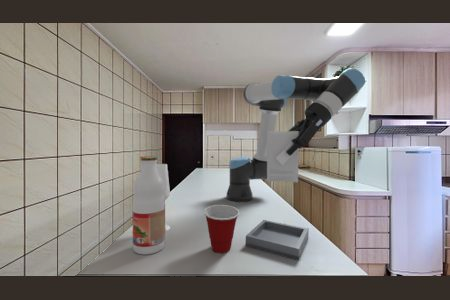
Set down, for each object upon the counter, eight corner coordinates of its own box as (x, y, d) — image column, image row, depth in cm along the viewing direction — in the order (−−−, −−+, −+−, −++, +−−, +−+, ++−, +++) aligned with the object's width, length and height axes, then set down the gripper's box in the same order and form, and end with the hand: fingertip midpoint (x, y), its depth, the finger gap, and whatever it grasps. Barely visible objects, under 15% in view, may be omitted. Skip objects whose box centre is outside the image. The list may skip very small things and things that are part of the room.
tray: (263, 228, 81) (263, 219, 80) (308, 237, 72) (308, 228, 72) (245, 245, 67) (245, 235, 67) (298, 260, 59) (298, 249, 59)
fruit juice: (166, 252, 63) (165, 157, 62) (131, 257, 60) (130, 158, 58) (164, 238, 71) (164, 155, 70) (134, 242, 68) (133, 155, 67)
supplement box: (298, 183, 61) (299, 130, 61) (267, 181, 63) (267, 131, 62) (294, 177, 70) (295, 132, 70) (266, 177, 72) (267, 132, 71)
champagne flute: (161, 223, 85) (161, 163, 84) (173, 227, 81) (173, 164, 80) (147, 229, 79) (146, 164, 78) (160, 233, 75) (159, 166, 74)
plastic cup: (210, 261, 58) (210, 218, 57) (199, 244, 68) (199, 206, 67) (245, 253, 62) (246, 213, 62) (230, 238, 72) (230, 203, 72)
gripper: (355, 114, 56) (296, 174, 55) (312, 122, 79) (270, 164, 78) (336, 93, 55) (276, 153, 54) (298, 107, 78) (256, 150, 77)
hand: (272, 160), depth 66 cm, fingers closed on supplement box, 10 cm apart
